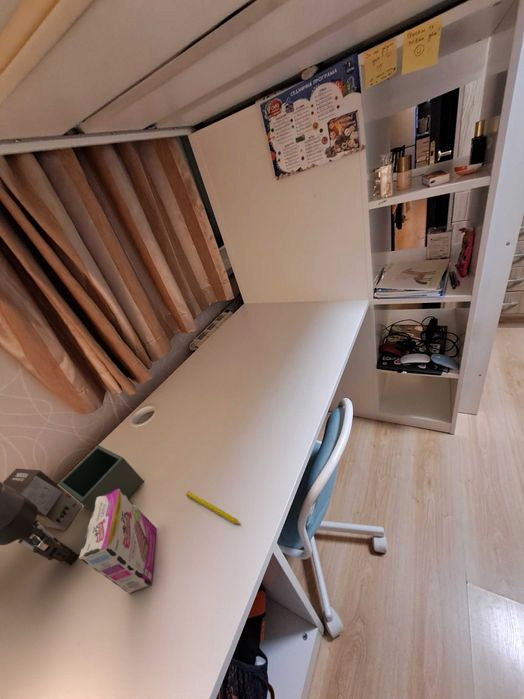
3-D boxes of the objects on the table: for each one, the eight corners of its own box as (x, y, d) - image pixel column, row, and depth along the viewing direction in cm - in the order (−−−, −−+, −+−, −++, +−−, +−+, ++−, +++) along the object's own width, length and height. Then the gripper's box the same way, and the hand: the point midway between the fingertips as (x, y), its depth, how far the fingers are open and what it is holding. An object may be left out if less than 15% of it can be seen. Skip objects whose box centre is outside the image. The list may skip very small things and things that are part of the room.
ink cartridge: (58, 559, 65) (34, 543, 61) (67, 548, 67) (44, 532, 62) (71, 567, 63) (47, 551, 59) (80, 555, 64) (56, 539, 60)
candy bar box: (153, 585, 56) (106, 548, 47) (129, 595, 55) (76, 560, 46) (158, 526, 65) (119, 487, 56) (137, 534, 65) (94, 496, 56)
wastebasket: (83, 505, 75) (57, 483, 69) (119, 467, 83) (98, 445, 77) (108, 524, 69) (81, 501, 63) (144, 481, 76) (123, 457, 71)
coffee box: (83, 504, 76) (41, 469, 67) (65, 530, 71) (17, 496, 62) (59, 501, 79) (16, 467, 70) (40, 526, 74) (-9, 493, 65)
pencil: (187, 496, 69) (185, 494, 69) (189, 492, 70) (188, 490, 69) (240, 528, 60) (238, 525, 59) (243, 523, 60) (241, 521, 60)
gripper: (-33, 517, 55) (29, 553, 64) (-9, 551, 48) (58, 588, 57) (8, 482, 60) (60, 520, 69) (36, 508, 52) (91, 548, 62)
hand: (59, 550), depth 63 cm, fingers closed on ink cartridge, 5 cm apart
